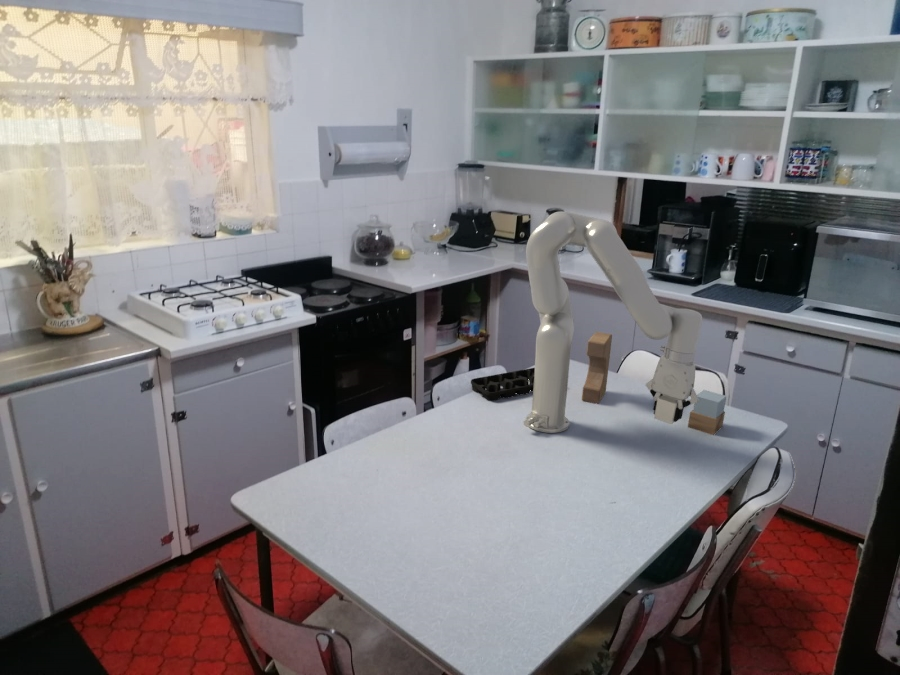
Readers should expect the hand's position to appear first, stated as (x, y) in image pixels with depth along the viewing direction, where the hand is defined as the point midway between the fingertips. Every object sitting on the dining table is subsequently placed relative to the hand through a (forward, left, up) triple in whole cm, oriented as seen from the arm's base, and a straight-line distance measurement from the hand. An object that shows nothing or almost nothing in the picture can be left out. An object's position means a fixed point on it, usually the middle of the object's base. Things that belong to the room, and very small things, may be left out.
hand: (666, 416), depth 179 cm
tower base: (+16, -6, -7) cm, 19 cm away
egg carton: (+2, +51, -8) cm, 52 cm away
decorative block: (+14, +29, -7) cm, 33 cm away
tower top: (+17, -6, -2) cm, 18 cm away
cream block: (0, 0, -1) cm, 1 cm away
